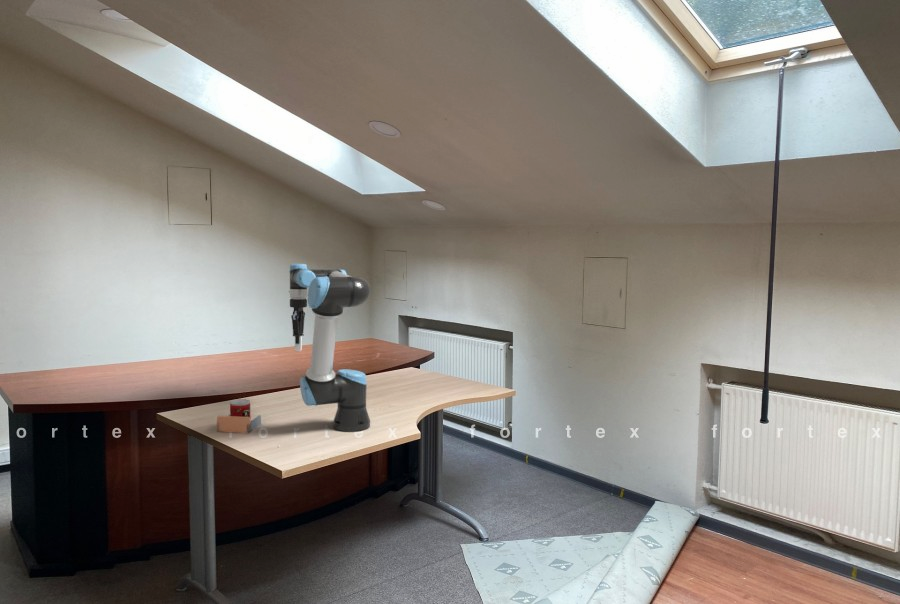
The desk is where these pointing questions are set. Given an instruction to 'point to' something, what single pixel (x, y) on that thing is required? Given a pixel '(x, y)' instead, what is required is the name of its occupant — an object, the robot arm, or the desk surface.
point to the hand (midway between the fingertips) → (298, 350)
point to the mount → (237, 423)
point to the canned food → (240, 408)
